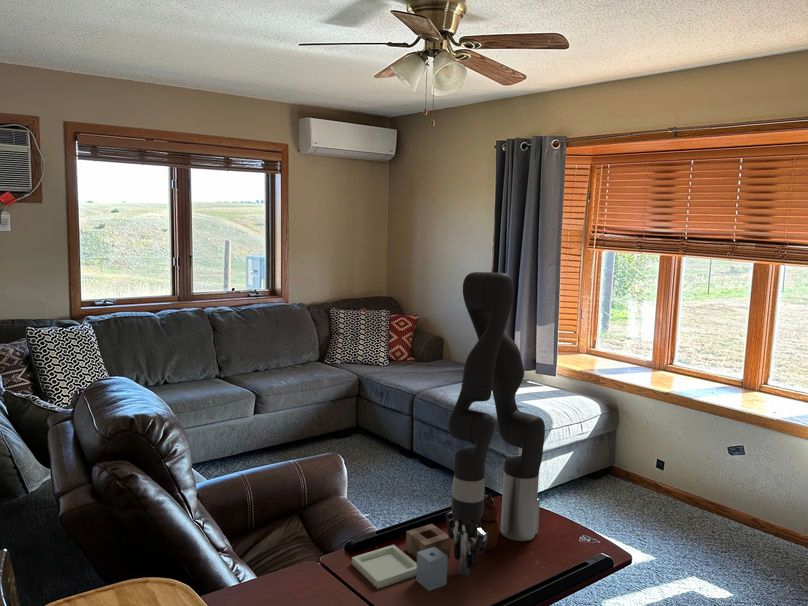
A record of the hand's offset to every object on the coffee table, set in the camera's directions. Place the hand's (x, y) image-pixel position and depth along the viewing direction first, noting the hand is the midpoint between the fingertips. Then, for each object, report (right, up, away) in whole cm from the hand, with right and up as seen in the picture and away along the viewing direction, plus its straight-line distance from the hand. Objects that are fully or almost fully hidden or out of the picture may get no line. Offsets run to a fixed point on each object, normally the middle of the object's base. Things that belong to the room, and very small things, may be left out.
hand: (464, 562), depth 152 cm
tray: (-19, -2, +1) cm, 19 cm away
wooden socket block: (-8, -1, +9) cm, 12 cm away
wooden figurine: (+7, -1, +13) cm, 15 cm away
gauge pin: (0, -3, 0) cm, 3 cm away
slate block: (-8, -3, -4) cm, 9 cm away
